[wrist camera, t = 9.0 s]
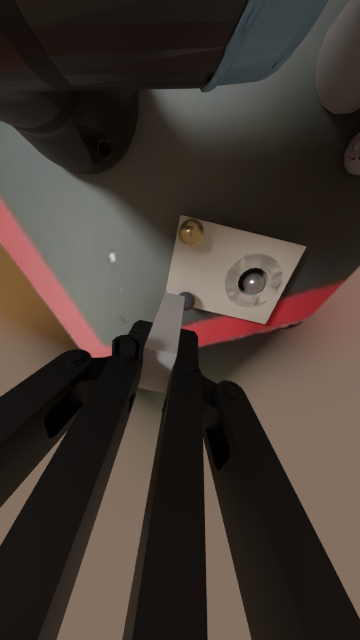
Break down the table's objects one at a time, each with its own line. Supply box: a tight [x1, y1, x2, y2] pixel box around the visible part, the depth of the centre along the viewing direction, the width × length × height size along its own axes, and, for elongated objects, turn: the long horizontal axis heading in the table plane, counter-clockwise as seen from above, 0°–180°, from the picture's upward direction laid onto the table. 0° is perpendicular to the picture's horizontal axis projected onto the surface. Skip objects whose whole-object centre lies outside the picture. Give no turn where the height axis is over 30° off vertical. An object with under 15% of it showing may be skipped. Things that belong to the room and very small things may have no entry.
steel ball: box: [243, 273, 264, 293], centre depth 30 cm, size 3×3×3 cm
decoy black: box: [179, 292, 195, 311], centre depth 30 cm, size 3×3×3 cm
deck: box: [166, 215, 306, 324], centre depth 30 cm, size 18×13×2 cm
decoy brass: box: [179, 219, 204, 247], centre depth 25 cm, size 3×3×3 cm
